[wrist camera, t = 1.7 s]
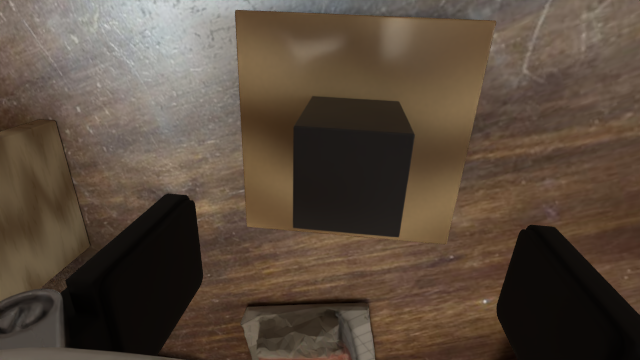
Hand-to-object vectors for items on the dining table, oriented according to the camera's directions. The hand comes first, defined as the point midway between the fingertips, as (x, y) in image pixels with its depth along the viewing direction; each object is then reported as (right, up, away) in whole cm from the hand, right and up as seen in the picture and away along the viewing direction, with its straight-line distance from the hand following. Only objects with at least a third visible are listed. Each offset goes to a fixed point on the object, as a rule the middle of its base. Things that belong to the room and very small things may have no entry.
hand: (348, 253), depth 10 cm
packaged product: (-1, -15, +21) cm, 26 cm away
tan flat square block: (+1, +5, +11) cm, 12 cm away
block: (+1, +4, +8) cm, 9 cm away
